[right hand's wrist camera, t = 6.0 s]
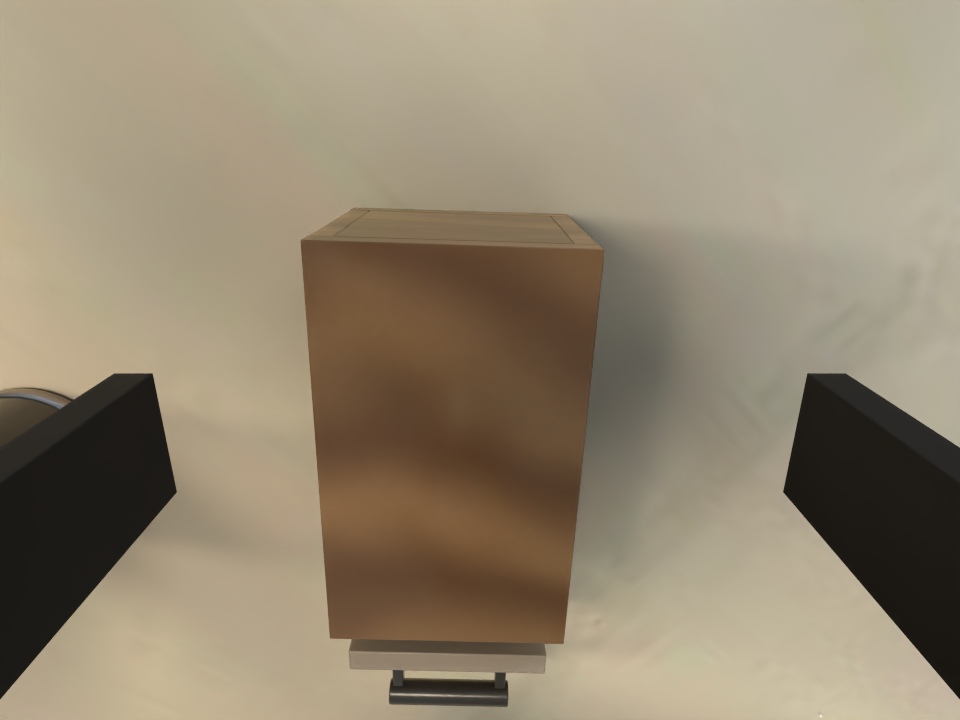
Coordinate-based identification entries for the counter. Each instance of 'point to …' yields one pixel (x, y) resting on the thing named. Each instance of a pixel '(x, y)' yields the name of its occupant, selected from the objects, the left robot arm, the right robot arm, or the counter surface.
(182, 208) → the counter surface
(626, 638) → the counter surface
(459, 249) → the cabinet
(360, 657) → the drawer
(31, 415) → the left robot arm
